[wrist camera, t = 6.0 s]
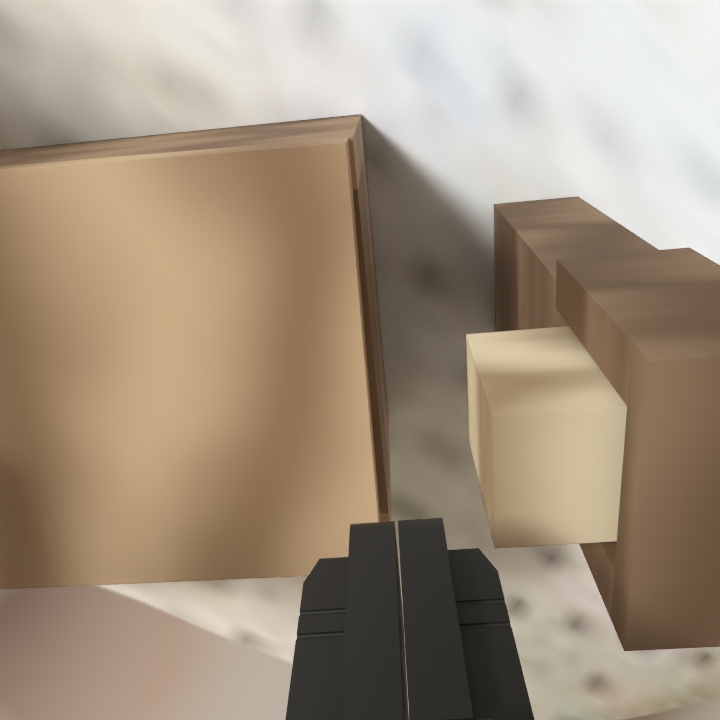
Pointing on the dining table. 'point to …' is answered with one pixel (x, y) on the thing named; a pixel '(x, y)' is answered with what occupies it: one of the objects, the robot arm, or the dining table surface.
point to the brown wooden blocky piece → (603, 343)
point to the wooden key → (544, 438)
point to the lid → (181, 367)
